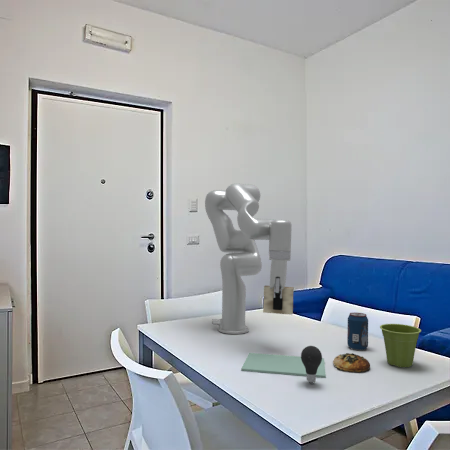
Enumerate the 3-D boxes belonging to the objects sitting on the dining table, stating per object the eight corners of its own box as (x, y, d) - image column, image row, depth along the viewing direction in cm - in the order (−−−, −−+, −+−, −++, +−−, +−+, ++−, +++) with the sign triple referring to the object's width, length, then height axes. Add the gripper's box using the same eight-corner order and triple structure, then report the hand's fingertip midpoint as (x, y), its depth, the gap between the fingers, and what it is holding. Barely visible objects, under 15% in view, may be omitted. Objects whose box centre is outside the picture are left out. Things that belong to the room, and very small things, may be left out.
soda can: (350, 344, 150) (350, 311, 150) (369, 347, 146) (370, 313, 146) (345, 348, 144) (345, 314, 144) (365, 352, 140) (365, 317, 140)
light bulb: (298, 379, 114) (298, 343, 114) (318, 379, 114) (318, 343, 114) (303, 387, 108) (304, 349, 108) (324, 386, 108) (325, 348, 109)
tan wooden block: (263, 312, 142) (264, 286, 142) (264, 310, 145) (264, 285, 145) (292, 314, 140) (293, 288, 140) (292, 313, 143) (293, 287, 142)
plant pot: (371, 360, 131) (371, 325, 132) (400, 356, 136) (400, 322, 136) (399, 372, 120) (399, 334, 120) (429, 368, 125) (430, 331, 125)
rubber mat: (241, 370, 120) (241, 368, 120) (249, 354, 136) (249, 352, 136) (325, 377, 115) (325, 375, 115) (324, 360, 131) (324, 358, 131)
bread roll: (378, 369, 123) (376, 352, 123) (352, 380, 117) (350, 363, 117) (350, 360, 133) (348, 344, 133) (324, 370, 127) (323, 354, 127)
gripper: (271, 253, 151) (269, 303, 151) (266, 257, 135) (264, 313, 135) (291, 254, 149) (290, 304, 150) (289, 258, 133) (287, 314, 134)
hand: (277, 308), depth 142 cm, fingers closed on tan wooden block, 2 cm apart
